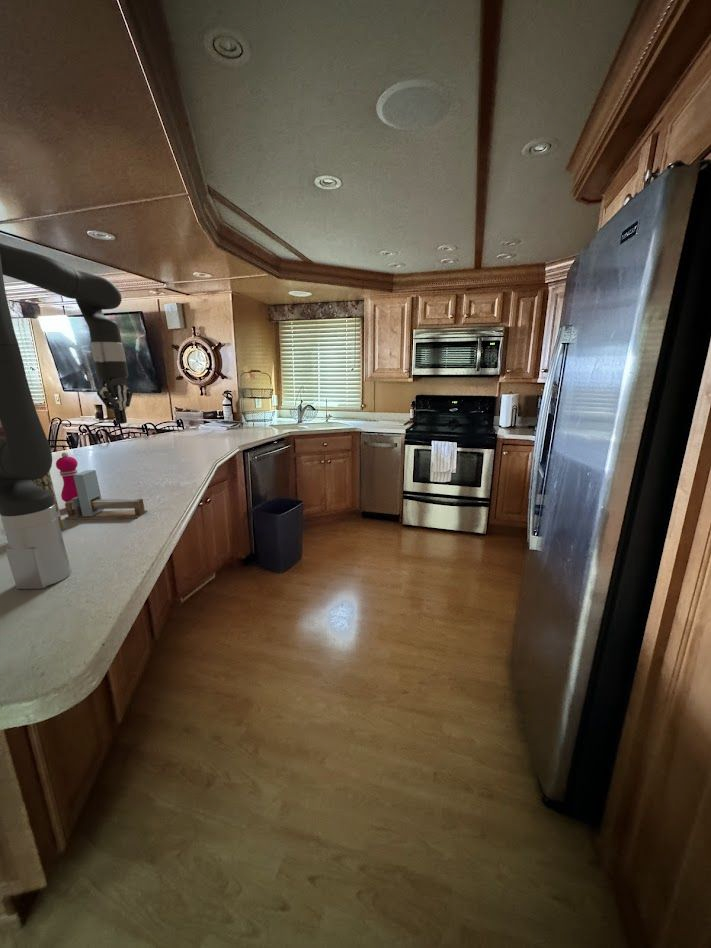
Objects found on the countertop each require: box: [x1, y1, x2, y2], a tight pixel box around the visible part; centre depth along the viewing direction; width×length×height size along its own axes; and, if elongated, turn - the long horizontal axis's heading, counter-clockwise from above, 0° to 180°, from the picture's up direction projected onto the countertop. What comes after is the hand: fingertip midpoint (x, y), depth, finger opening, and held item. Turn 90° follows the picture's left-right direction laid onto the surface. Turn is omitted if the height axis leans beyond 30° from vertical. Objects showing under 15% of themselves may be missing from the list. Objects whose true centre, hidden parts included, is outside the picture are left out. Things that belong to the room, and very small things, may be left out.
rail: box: [64, 496, 148, 520], centre depth 125 cm, size 6×24×7 cm, turn 90°
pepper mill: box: [55, 452, 79, 510], centre depth 132 cm, size 7×7×20 cm
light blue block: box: [73, 469, 105, 516], centre depth 124 cm, size 6×3×14 cm, turn 179°
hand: (121, 423), depth 107 cm, fingers closed
